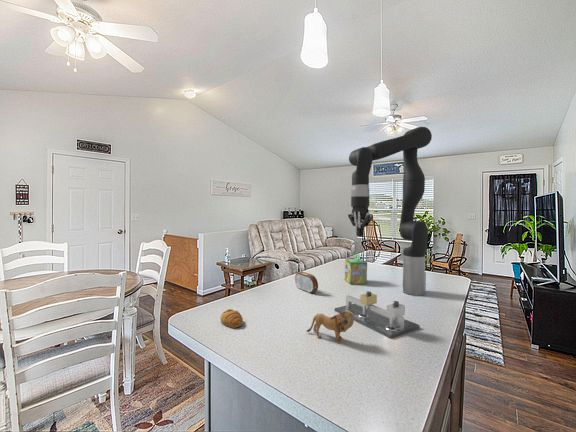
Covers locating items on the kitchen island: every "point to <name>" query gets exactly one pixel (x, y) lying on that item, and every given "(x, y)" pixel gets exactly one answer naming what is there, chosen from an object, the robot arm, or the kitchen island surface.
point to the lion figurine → (333, 323)
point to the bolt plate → (377, 321)
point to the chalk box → (356, 271)
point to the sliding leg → (367, 300)
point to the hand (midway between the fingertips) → (359, 236)
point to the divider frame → (384, 311)
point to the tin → (306, 282)
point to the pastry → (231, 318)
